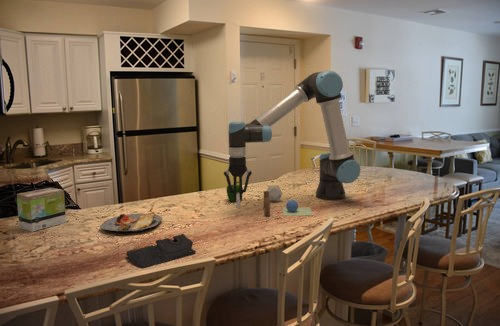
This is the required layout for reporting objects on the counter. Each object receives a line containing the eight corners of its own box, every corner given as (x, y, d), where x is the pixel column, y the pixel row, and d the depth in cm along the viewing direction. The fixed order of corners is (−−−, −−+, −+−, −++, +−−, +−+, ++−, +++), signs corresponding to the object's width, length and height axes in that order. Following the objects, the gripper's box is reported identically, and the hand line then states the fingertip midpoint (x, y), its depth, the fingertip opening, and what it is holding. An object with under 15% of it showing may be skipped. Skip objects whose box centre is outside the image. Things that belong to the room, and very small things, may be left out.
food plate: (115, 217, 180) (115, 210, 179) (167, 217, 179) (167, 209, 178) (92, 236, 155) (91, 227, 155) (152, 236, 154) (151, 227, 154)
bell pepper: (223, 201, 204) (222, 182, 202) (231, 198, 211) (231, 179, 210) (237, 203, 200) (237, 183, 198) (245, 199, 207) (245, 180, 206)
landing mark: (309, 207, 190) (309, 207, 190) (313, 215, 178) (313, 215, 178) (282, 207, 191) (282, 207, 191) (284, 215, 178) (284, 215, 178)
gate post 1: (269, 207, 192) (269, 191, 191) (269, 208, 189) (269, 192, 188) (263, 207, 192) (263, 191, 191) (263, 208, 189) (263, 192, 188)
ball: (288, 196, 186) (284, 207, 187) (289, 199, 180) (284, 210, 181) (299, 201, 186) (295, 211, 187) (300, 204, 180) (295, 215, 181)
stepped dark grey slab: (121, 257, 135) (120, 243, 134) (179, 242, 149) (178, 229, 148) (140, 272, 123) (139, 257, 123) (201, 254, 137) (200, 240, 136)
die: (277, 205, 198) (286, 188, 200) (262, 196, 199) (271, 179, 201) (275, 206, 206) (285, 190, 208) (261, 198, 207) (270, 182, 209)
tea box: (32, 232, 160) (29, 196, 158) (19, 228, 165) (15, 193, 163) (67, 222, 173) (64, 189, 170) (53, 219, 178) (50, 186, 176)
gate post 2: (269, 215, 180) (269, 197, 178) (270, 216, 177) (269, 198, 176) (264, 215, 180) (263, 197, 178) (264, 216, 177) (264, 199, 176)
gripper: (222, 157, 177) (223, 209, 181) (251, 157, 177) (252, 209, 181) (223, 155, 185) (224, 205, 188) (252, 155, 184) (252, 205, 188)
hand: (238, 207), depth 184 cm, fingers closed
